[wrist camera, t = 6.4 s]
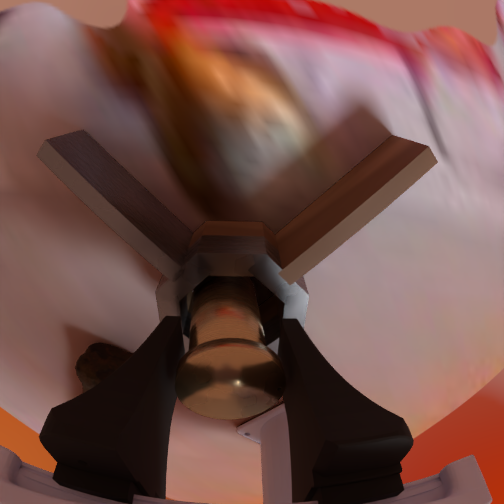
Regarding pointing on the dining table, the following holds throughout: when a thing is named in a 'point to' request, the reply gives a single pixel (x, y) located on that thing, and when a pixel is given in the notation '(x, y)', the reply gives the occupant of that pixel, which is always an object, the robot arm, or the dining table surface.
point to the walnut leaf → (334, 212)
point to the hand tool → (99, 364)
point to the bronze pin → (228, 353)
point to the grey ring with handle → (168, 235)
